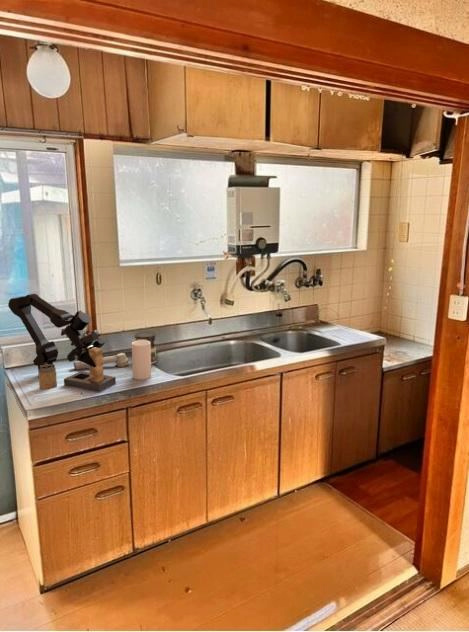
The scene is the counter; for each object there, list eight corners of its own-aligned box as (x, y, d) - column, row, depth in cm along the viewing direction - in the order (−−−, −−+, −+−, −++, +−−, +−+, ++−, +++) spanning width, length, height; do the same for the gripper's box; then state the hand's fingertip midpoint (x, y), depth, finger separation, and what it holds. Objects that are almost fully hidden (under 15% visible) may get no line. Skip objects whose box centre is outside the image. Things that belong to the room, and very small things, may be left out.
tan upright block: (56, 384, 200) (54, 362, 197) (58, 387, 196) (56, 364, 194) (38, 387, 196) (36, 364, 194) (40, 390, 193) (38, 367, 191)
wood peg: (90, 381, 197) (88, 349, 194) (96, 378, 201) (94, 347, 198) (97, 382, 196) (96, 351, 193) (103, 379, 199) (102, 348, 196)
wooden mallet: (73, 360, 220) (126, 349, 227) (76, 373, 222) (128, 362, 229) (73, 363, 215) (127, 352, 222) (76, 377, 217) (129, 365, 224)
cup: (132, 379, 206) (131, 345, 203) (133, 373, 214) (132, 340, 211) (151, 379, 207) (150, 344, 204) (151, 373, 215) (150, 339, 212)
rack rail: (64, 385, 198) (63, 378, 198) (81, 377, 208) (81, 371, 208) (99, 392, 192) (99, 385, 191) (115, 383, 202) (115, 377, 201)
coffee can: (154, 357, 238) (154, 331, 235) (157, 363, 228) (156, 336, 225) (134, 359, 235) (133, 332, 232) (136, 365, 225) (135, 337, 222)
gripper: (71, 330, 186) (94, 360, 184) (100, 321, 203) (122, 348, 201) (56, 346, 191) (79, 376, 189) (87, 336, 207) (108, 363, 206)
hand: (98, 365), depth 196 cm, fingers closed on wood peg, 4 cm apart
